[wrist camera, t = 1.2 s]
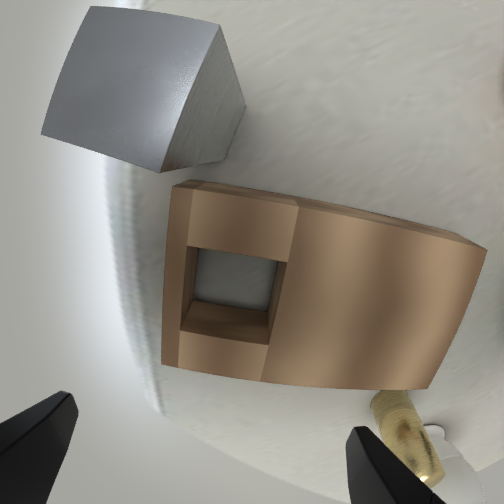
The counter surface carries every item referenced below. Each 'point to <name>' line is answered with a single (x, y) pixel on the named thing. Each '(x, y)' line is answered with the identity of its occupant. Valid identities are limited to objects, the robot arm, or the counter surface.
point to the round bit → (406, 435)
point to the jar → (455, 472)
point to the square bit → (147, 90)
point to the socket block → (315, 291)
